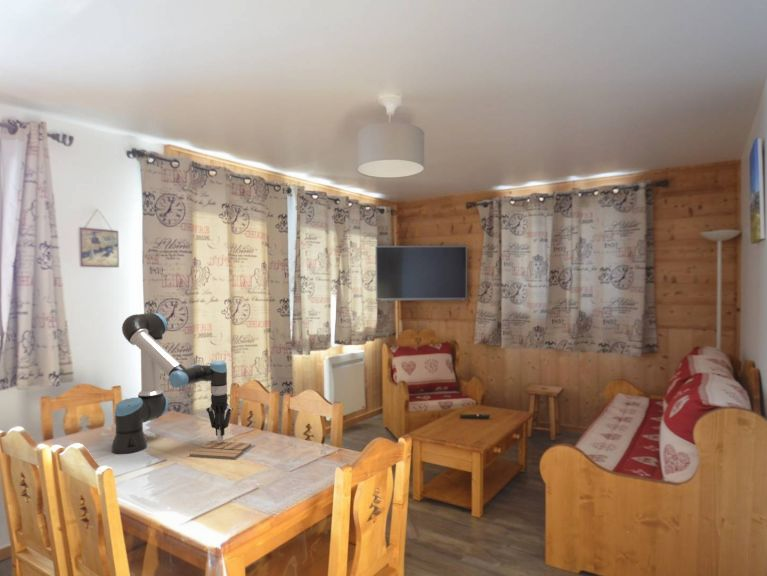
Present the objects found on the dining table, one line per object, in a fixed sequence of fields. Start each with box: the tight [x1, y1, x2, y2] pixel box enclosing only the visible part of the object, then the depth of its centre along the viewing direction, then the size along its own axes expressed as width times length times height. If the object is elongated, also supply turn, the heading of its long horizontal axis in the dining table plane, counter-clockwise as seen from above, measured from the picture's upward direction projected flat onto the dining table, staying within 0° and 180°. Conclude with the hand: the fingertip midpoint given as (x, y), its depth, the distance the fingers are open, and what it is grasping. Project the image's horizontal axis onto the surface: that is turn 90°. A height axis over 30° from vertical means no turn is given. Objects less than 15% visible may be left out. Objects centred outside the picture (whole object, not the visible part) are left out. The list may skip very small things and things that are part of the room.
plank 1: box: [201, 440, 232, 449], centre depth 232 cm, size 10×9×1 cm
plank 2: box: [222, 441, 252, 451], centre depth 230 cm, size 10×9×1 cm
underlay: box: [186, 444, 257, 461], centre depth 227 cm, size 24×20×2 cm
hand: (220, 442), depth 235 cm, fingers closed
